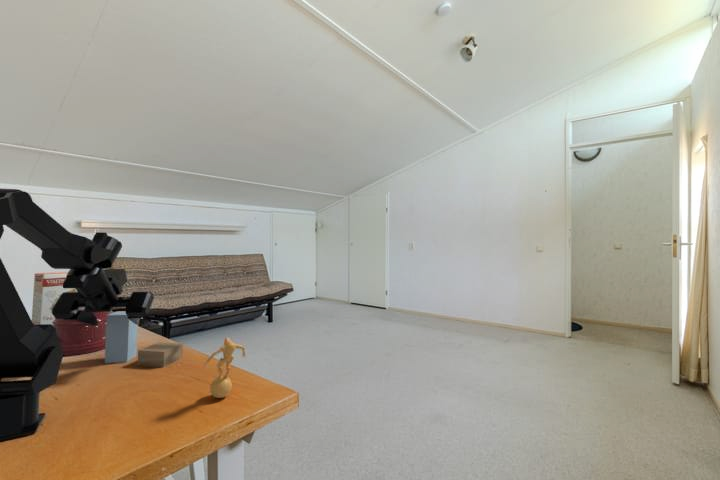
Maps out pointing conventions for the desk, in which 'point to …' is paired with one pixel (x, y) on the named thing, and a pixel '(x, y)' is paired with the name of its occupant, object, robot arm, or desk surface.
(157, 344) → the beige block
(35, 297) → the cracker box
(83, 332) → the canister
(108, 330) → the blue pillar
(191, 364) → the desk surface
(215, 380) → the figurine
